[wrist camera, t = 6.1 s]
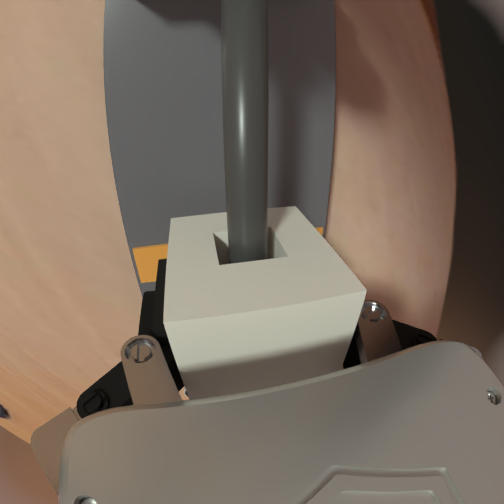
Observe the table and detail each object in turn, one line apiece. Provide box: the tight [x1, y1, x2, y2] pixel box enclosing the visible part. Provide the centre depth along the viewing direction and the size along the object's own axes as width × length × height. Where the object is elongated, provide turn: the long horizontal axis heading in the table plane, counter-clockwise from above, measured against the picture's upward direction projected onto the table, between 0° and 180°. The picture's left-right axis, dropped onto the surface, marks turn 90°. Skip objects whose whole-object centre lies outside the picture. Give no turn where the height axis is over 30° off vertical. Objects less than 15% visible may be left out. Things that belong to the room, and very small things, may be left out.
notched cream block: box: [163, 206, 367, 400], centre depth 10 cm, size 6×5×6 cm
